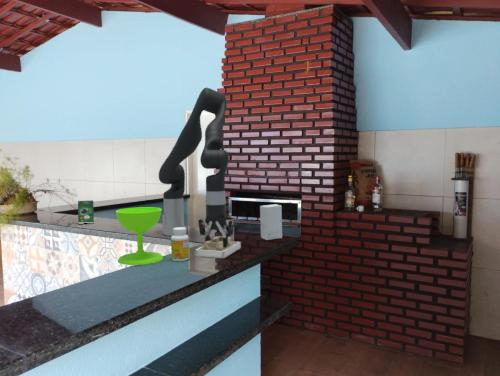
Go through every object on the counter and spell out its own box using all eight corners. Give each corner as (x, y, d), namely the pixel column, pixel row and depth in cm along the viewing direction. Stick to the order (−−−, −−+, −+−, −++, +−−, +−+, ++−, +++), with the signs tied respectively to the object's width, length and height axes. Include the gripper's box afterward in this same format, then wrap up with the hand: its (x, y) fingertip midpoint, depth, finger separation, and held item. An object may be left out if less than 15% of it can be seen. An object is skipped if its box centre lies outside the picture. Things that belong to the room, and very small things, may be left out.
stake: (228, 243, 177) (227, 227, 176) (229, 242, 178) (229, 226, 178) (233, 244, 176) (233, 227, 175) (235, 243, 178) (234, 227, 177)
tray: (194, 256, 155) (194, 249, 155) (214, 246, 172) (214, 240, 172) (223, 258, 152) (223, 251, 151) (240, 248, 168) (240, 241, 168)
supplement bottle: (167, 260, 151) (166, 228, 150) (180, 256, 156) (179, 226, 155) (180, 262, 147) (179, 230, 146) (192, 258, 152) (192, 227, 151)
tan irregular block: (215, 243, 169) (215, 235, 169) (232, 244, 167) (232, 236, 166) (201, 250, 157) (200, 242, 157) (219, 251, 155) (219, 243, 154)
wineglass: (108, 263, 147) (106, 212, 145) (132, 253, 162) (131, 206, 161) (149, 266, 143) (147, 213, 141) (170, 255, 158) (169, 207, 156)
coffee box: (93, 222, 238) (92, 199, 237) (94, 223, 235) (93, 200, 234) (78, 224, 234) (77, 200, 233) (79, 224, 232) (77, 201, 230)
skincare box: (276, 236, 192) (275, 203, 190) (282, 238, 186) (282, 205, 185) (259, 238, 188) (259, 205, 187) (266, 240, 182) (265, 206, 181)
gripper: (237, 202, 160) (237, 245, 161) (202, 201, 164) (203, 243, 166) (229, 204, 152) (230, 250, 154) (194, 203, 157) (195, 247, 159)
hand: (216, 246), depth 160 cm, fingers closed on tan irregular block, 6 cm apart
